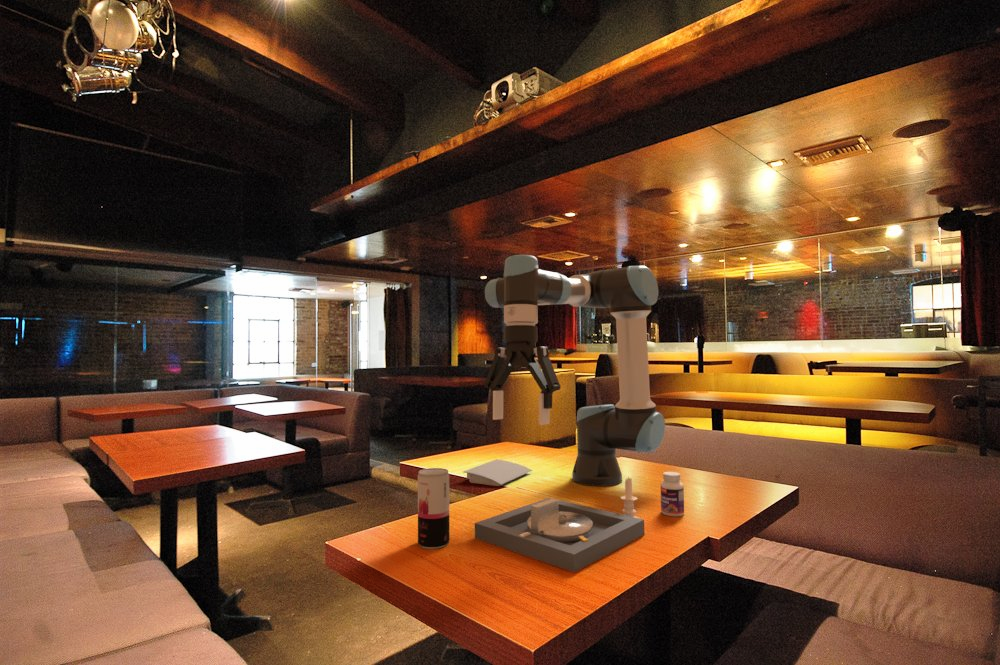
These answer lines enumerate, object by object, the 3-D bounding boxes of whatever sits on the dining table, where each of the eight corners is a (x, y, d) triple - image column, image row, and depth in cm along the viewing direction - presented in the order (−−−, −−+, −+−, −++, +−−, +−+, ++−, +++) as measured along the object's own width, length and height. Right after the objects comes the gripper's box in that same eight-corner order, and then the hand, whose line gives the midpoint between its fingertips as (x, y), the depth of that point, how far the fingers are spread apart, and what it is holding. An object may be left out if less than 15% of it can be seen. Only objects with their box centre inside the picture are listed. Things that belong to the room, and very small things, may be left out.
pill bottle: (657, 513, 126) (656, 473, 126) (666, 508, 129) (665, 469, 130) (678, 518, 122) (677, 477, 122) (688, 513, 126) (686, 473, 126)
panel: (549, 510, 129) (549, 496, 129) (644, 534, 111) (644, 518, 111) (474, 538, 110) (474, 521, 110) (574, 572, 92) (574, 552, 93)
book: (455, 484, 158) (455, 471, 158) (493, 469, 178) (493, 458, 178) (498, 490, 150) (498, 477, 151) (533, 474, 170) (533, 462, 170)
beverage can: (422, 551, 103) (422, 476, 104) (414, 541, 109) (414, 469, 110) (453, 546, 106) (453, 472, 106) (444, 536, 112) (443, 466, 112)
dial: (553, 516, 121) (553, 486, 121) (605, 529, 111) (604, 497, 111) (509, 533, 109) (509, 500, 110) (562, 550, 100) (561, 513, 100)
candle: (616, 523, 119) (615, 478, 119) (619, 516, 124) (618, 473, 124) (640, 525, 117) (638, 479, 117) (641, 518, 122) (640, 474, 122)
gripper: (470, 326, 120) (469, 418, 119) (554, 321, 103) (554, 428, 101) (492, 328, 125) (492, 416, 124) (576, 323, 108) (577, 425, 107)
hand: (520, 421), depth 113 cm, fingers open, 13 cm apart
